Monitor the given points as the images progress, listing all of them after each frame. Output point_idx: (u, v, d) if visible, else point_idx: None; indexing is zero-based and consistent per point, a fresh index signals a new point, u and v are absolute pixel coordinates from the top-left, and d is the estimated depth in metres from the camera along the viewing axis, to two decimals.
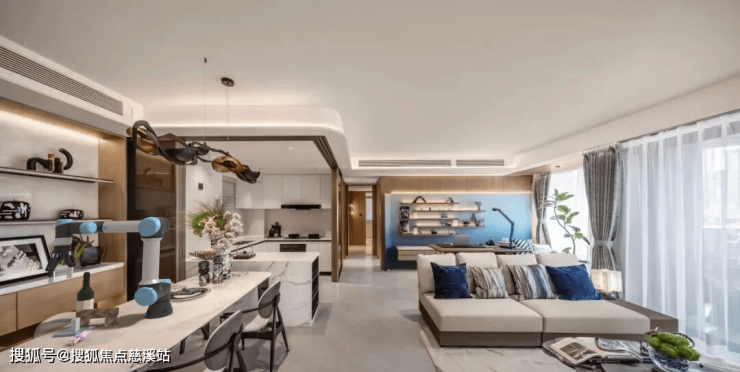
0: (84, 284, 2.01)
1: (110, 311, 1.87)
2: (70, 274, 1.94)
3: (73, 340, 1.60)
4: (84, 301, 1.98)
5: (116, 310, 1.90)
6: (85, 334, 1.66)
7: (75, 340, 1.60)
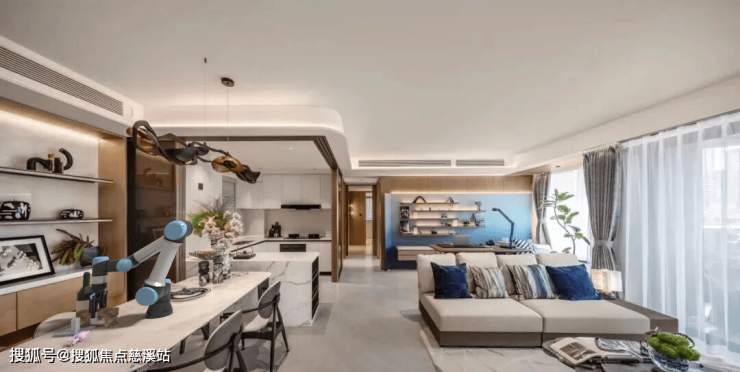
0: (84, 284, 2.01)
1: (110, 311, 1.87)
2: None
3: (72, 341, 1.59)
4: (84, 301, 1.98)
5: (116, 310, 1.90)
6: (83, 335, 1.66)
7: (74, 341, 1.59)
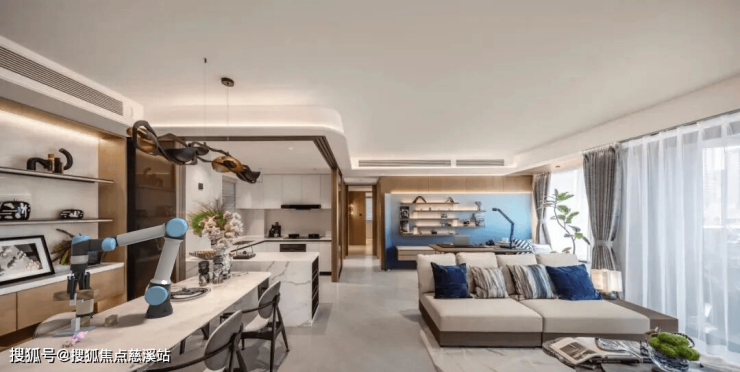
0: None
1: (90, 292, 1.78)
2: None
3: (71, 341, 1.59)
4: (84, 301, 1.98)
5: (96, 291, 1.81)
6: (82, 335, 1.65)
7: (73, 341, 1.59)
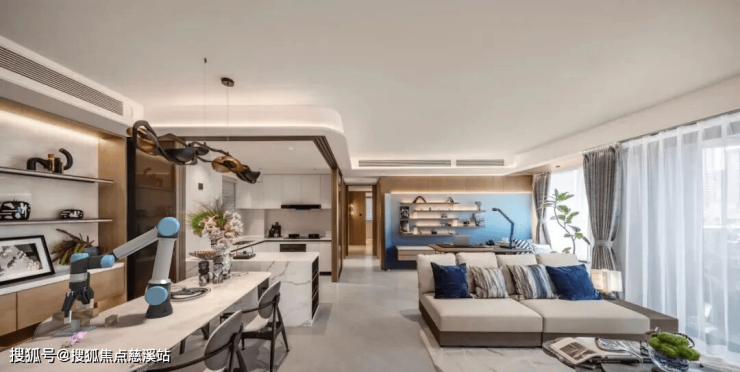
0: None
1: (89, 312, 1.77)
2: None
3: (70, 341, 1.58)
4: None
5: (96, 311, 1.80)
6: (81, 335, 1.65)
7: (72, 341, 1.59)
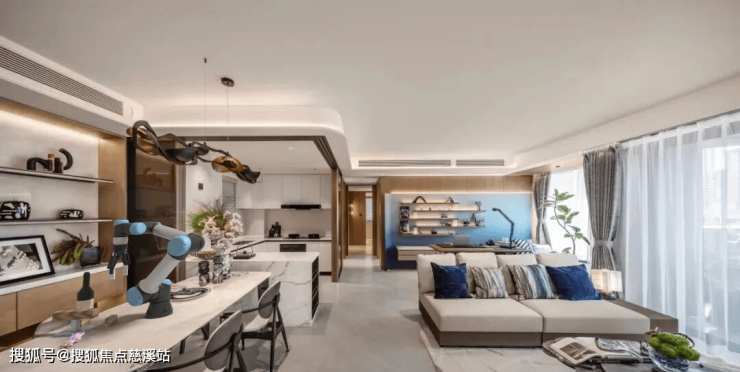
0: (84, 284, 2.01)
1: (89, 312, 1.77)
2: (126, 271, 2.05)
3: (69, 342, 1.57)
4: (84, 301, 1.98)
5: (96, 311, 1.80)
6: (80, 336, 1.64)
7: (71, 342, 1.58)
